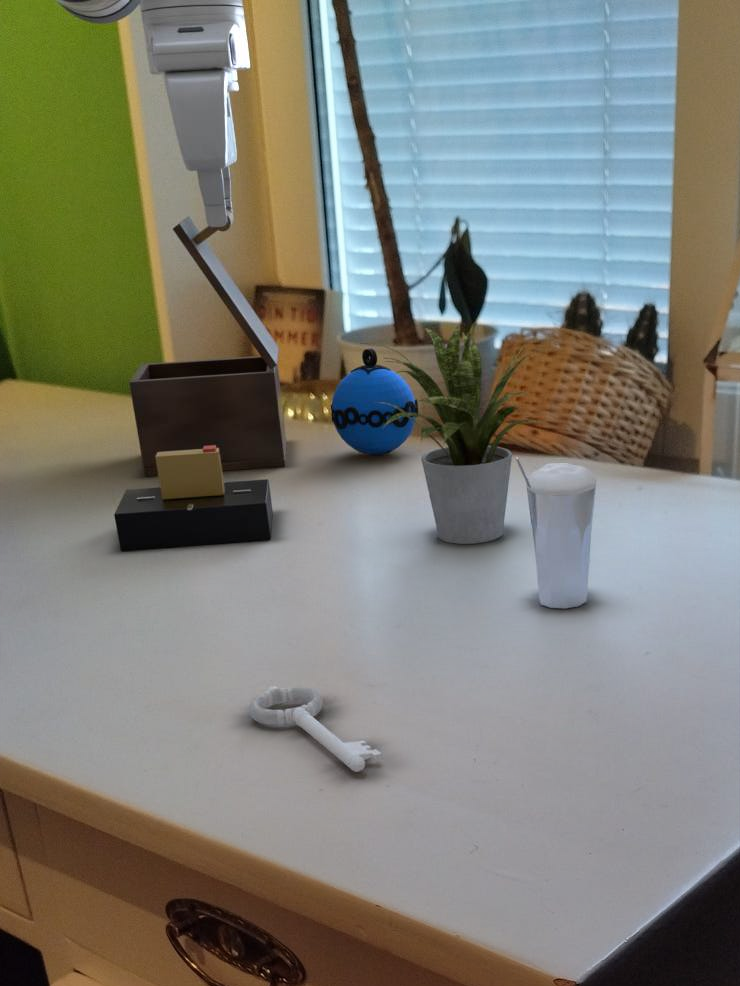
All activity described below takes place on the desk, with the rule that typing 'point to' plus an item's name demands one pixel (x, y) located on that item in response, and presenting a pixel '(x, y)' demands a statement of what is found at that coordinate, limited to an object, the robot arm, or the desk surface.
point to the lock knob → (190, 473)
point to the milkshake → (561, 531)
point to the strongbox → (211, 411)
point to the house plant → (464, 444)
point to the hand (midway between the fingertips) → (221, 222)
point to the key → (309, 722)
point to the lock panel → (194, 517)
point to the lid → (227, 286)
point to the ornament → (373, 408)
